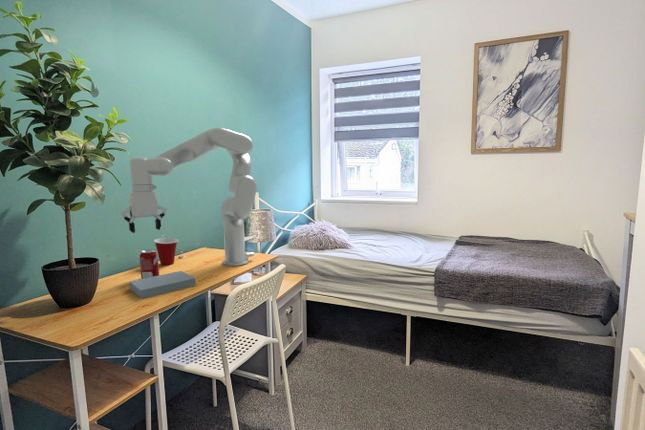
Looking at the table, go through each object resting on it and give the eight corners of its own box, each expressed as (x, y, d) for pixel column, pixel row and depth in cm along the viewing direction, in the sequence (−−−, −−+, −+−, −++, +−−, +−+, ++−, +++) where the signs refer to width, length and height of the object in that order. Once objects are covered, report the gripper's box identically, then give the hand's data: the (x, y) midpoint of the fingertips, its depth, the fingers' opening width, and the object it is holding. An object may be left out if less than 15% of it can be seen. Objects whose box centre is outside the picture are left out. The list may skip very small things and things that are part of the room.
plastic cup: (172, 267, 167) (170, 242, 166) (150, 266, 169) (148, 241, 167) (184, 261, 178) (182, 237, 176) (164, 260, 179) (162, 237, 178)
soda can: (152, 281, 146) (150, 252, 145) (137, 280, 147) (135, 252, 146) (162, 276, 153) (160, 249, 151) (148, 276, 154) (146, 248, 152)
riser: (181, 277, 151) (181, 270, 151) (196, 285, 141) (195, 278, 140) (129, 289, 138) (129, 281, 137) (141, 298, 127) (140, 290, 127)
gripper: (161, 187, 153) (164, 227, 156) (116, 189, 142) (119, 232, 144) (167, 188, 148) (170, 229, 150) (121, 190, 136) (125, 234, 138)
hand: (145, 230), depth 147 cm, fingers open, 9 cm apart
